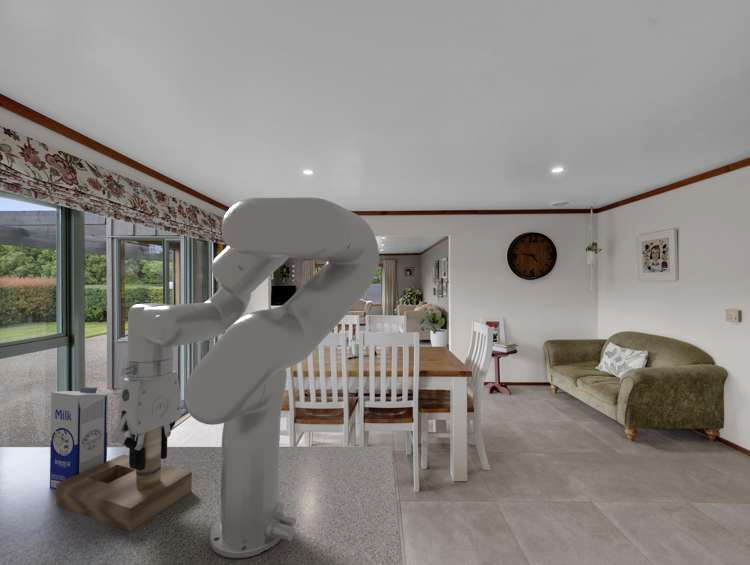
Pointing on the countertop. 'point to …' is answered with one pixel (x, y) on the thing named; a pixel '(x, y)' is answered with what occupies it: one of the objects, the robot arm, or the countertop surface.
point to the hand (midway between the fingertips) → (148, 461)
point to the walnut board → (121, 493)
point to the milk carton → (77, 432)
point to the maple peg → (150, 461)
